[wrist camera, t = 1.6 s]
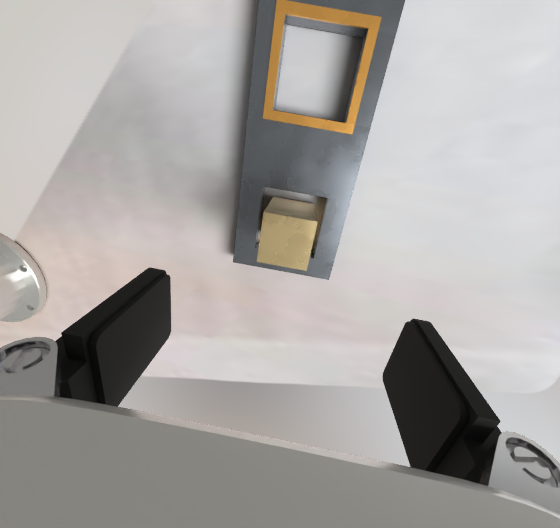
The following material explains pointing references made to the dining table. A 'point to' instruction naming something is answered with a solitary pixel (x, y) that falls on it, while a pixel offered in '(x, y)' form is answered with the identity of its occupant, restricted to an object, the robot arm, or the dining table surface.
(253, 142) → the socket plate
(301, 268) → the brass plug
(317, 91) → the dining table surface
